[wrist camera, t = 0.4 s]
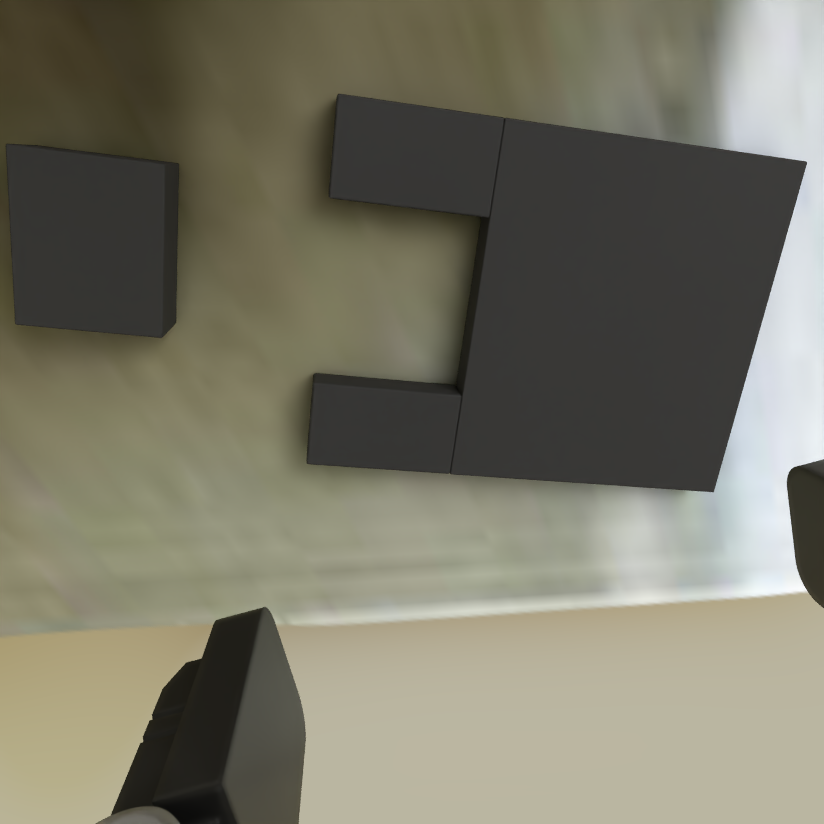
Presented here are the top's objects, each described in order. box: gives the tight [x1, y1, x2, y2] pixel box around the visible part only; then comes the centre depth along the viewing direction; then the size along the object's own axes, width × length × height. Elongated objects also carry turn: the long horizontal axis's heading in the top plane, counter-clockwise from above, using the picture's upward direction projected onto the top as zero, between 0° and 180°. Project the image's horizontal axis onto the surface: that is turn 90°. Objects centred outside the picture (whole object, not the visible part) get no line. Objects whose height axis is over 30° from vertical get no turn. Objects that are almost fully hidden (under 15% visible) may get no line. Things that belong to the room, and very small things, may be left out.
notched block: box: [307, 94, 807, 492], centre depth 29 cm, size 14×18×2 cm
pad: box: [6, 144, 179, 338], centre depth 26 cm, size 6×5×2 cm
